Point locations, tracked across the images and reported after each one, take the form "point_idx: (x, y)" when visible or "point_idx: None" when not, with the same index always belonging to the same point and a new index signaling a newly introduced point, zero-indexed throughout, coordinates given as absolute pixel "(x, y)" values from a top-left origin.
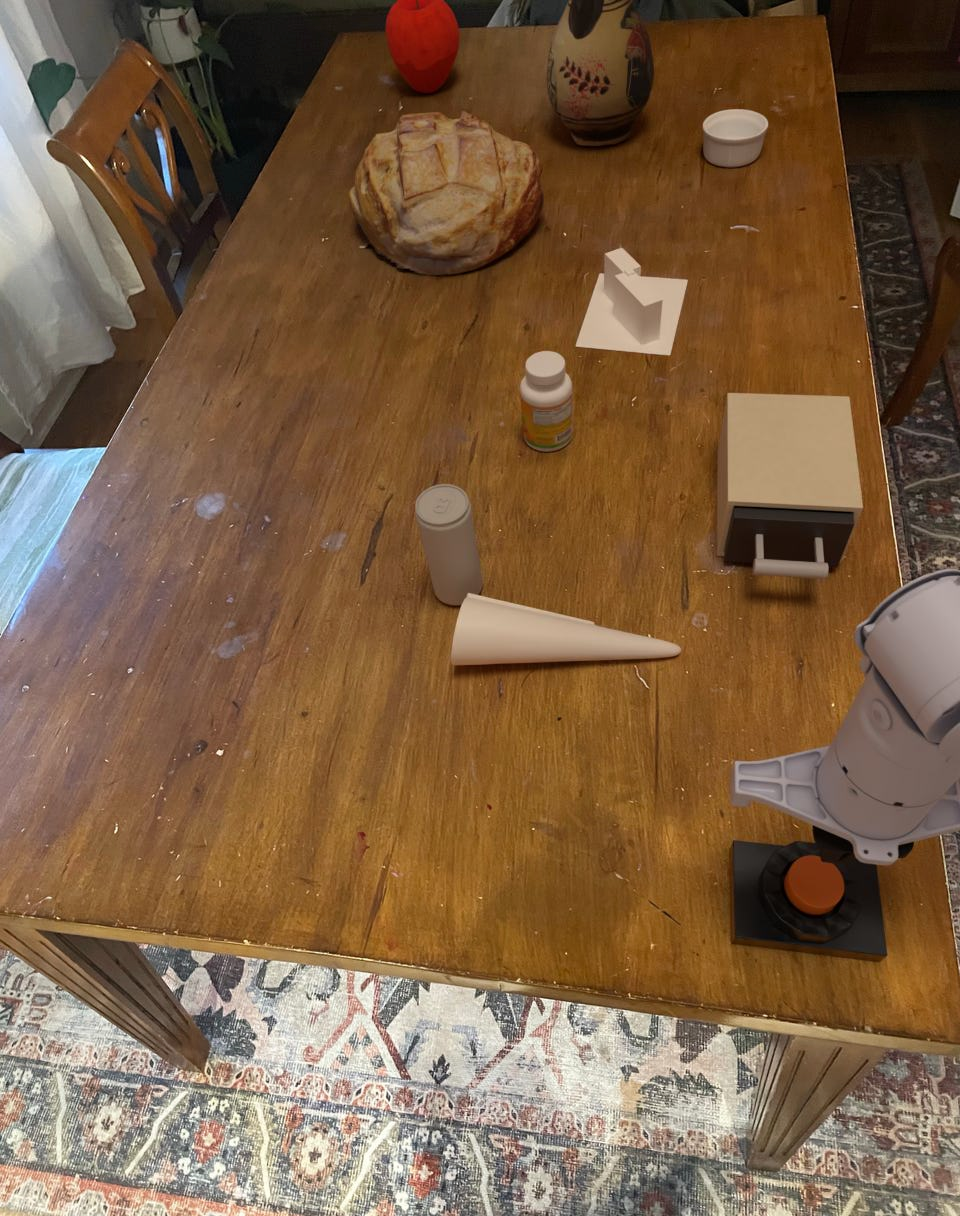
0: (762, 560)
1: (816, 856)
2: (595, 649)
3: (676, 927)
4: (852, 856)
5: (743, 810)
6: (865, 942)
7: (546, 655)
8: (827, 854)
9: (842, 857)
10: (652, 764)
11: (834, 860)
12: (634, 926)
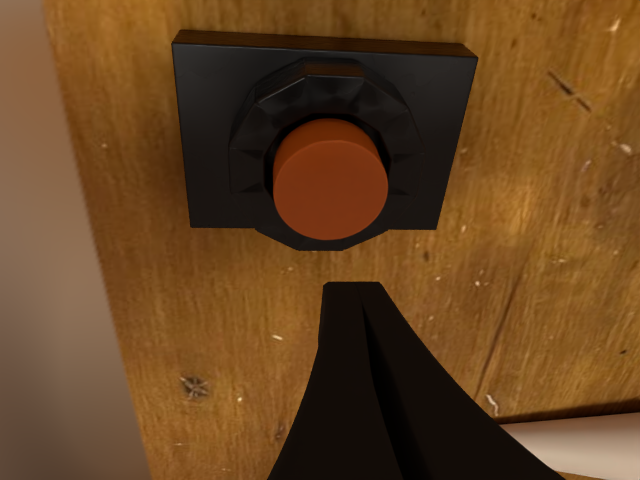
0: None
1: (323, 239)
2: (566, 446)
3: (556, 66)
4: (358, 371)
5: (390, 263)
6: (215, 67)
7: (637, 436)
8: (432, 362)
9: (365, 338)
10: (512, 310)
11: (375, 313)
12: (633, 61)
